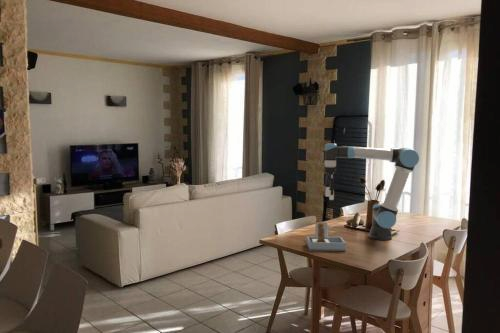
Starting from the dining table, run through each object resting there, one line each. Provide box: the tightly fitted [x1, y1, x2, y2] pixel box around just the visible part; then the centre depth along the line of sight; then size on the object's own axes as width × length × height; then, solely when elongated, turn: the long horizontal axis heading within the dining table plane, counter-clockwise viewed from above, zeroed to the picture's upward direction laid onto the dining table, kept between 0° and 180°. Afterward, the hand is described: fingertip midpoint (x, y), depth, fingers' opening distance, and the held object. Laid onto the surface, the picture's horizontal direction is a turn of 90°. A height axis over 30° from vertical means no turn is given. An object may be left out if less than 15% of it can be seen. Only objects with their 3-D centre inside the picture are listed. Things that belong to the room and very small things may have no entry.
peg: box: [318, 223, 325, 242], centre depth 251 cm, size 4×4×14 cm
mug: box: [314, 221, 332, 237], centre depth 272 cm, size 12×8×11 cm
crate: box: [306, 236, 347, 252], centre depth 252 cm, size 22×14×5 cm, turn 89°
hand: (329, 198), depth 268 cm, fingers open, 13 cm apart
